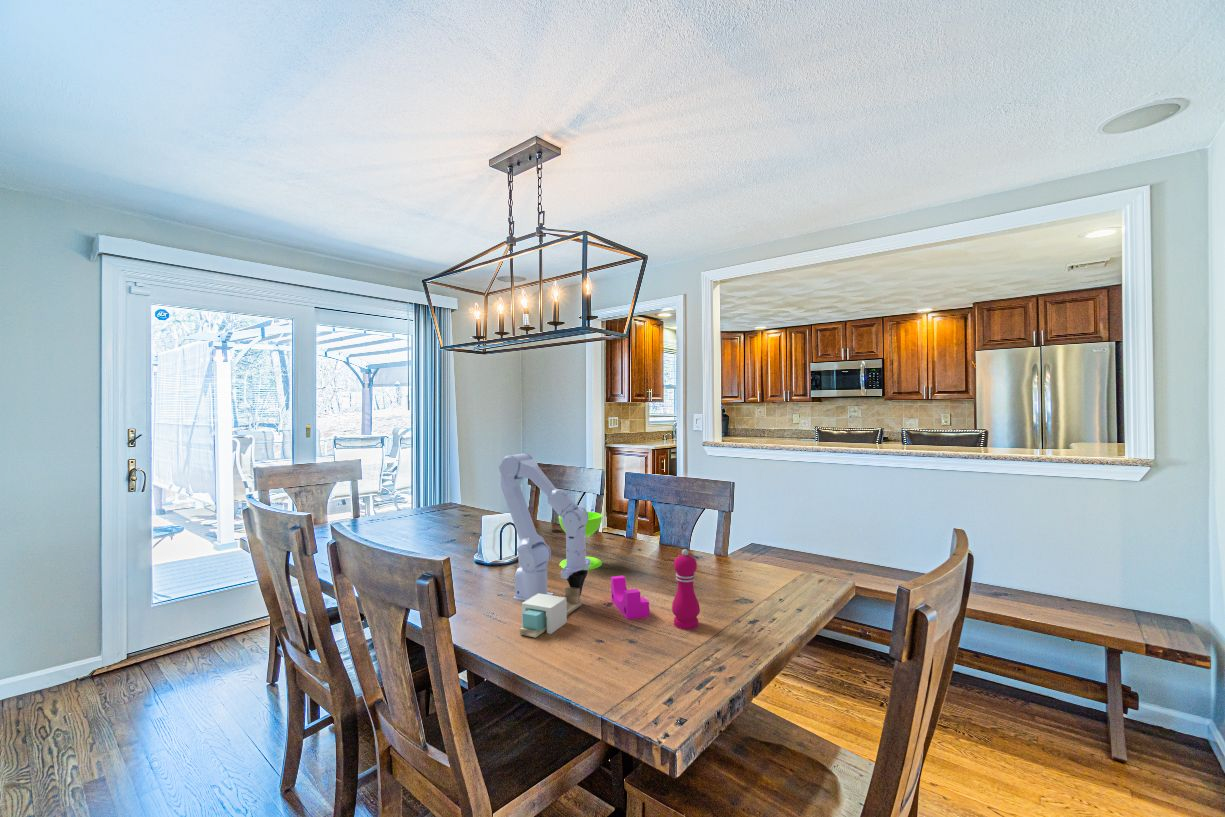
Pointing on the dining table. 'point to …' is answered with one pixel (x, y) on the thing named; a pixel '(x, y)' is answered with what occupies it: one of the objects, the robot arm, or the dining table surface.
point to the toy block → (628, 599)
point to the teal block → (534, 619)
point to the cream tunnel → (548, 609)
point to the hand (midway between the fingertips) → (576, 596)
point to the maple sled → (572, 603)
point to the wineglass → (590, 528)
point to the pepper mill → (685, 593)
